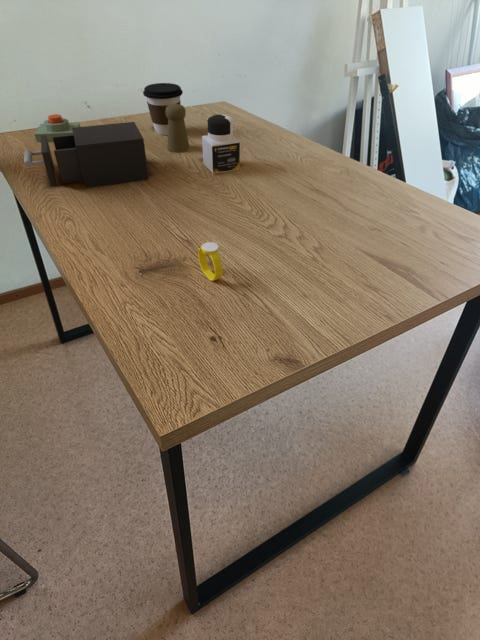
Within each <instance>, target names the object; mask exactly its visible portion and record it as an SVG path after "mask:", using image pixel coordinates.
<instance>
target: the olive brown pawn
mask: <svg viewBox="0 0 480 640" xmlns="http://www.w3.org/2000/svg"><path fill="white" fill-rule="evenodd" d="M165 113H166V117H167V118H168V135H167V148H166V149H167V151H169V152H171V153H185V152H187V151H189V150H190V143H189V142H190V141H189V138H188V137H189V136H188V132H187V127H186V122H185V118H186V114H187V113H186V108H185V106H184V105H182V104H181V103H180V104H171V105H168V106H167V107H166V111H165Z"/></svg>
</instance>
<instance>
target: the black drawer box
mask: <svg viewBox="0 0 480 640" xmlns="http://www.w3.org/2000/svg"><path fill="white" fill-rule="evenodd" d="M72 130H73V135H74V140H75V145H76V149H77V154H78V158H79V162H80V167H81V171H82V176H83V180H84V181H83V184H84V188H85V189H88V188H89V189H90V188H98V187H105V186H112V185H121V184H127V183H128V184H129V183H136V182H143V181H149V180H150V179H149V178H150V177H149V170H148V169H149V168H148V163H147V155H146V147H145V140H144V137H143V135H142V133H141V131H140V129H139V128H138V126H137V124H136V122H135V121H129V122H128V121H127V122H118V123H117V122H116V123H108V124H97V125H87V126H80V127H75V128H72Z"/></svg>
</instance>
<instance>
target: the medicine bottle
mask: <svg viewBox="0 0 480 640" xmlns="http://www.w3.org/2000/svg"><path fill="white" fill-rule="evenodd" d="M201 140H202V141H201V142H202V144H201V145H202V162H203V163H202V164H203V165H204V167H206V168H207V169H208V171H209V172H210V173H211V174H212V175H218V174H224V173H230V172H236V171H240V167H241V165H240V162H241V161H240V159H241V158H240V157H241V155H240V153H241V152H240V151H241V150H240V149H241V148H240V147H241V141H240V140H239V139H238V138H236V136H234V119H233V118H232V117H231V116H229V115H227V114H214V115H211V116H209V117H208V118H207V134H206V135H202V136H201Z"/></svg>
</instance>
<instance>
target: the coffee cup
mask: <svg viewBox="0 0 480 640" xmlns="http://www.w3.org/2000/svg"><path fill="white" fill-rule="evenodd" d="M142 93H143V96H144V97H146V103H147V109H148V111H149V115H150V119H151V122H152V125H153V127H154V130H155V132H156V134H157V135H160V136H168V118H167V117H166V113H165V111H166V107H167V106H168V105H171V104H180V105H181V96H182V95H183V90H182V87H181V86H180V85H179V84H176V83H171V82H159V83H158V82H157V83H151V84H148V85H146V86H145V87H144V88H143V91H142Z"/></svg>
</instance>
